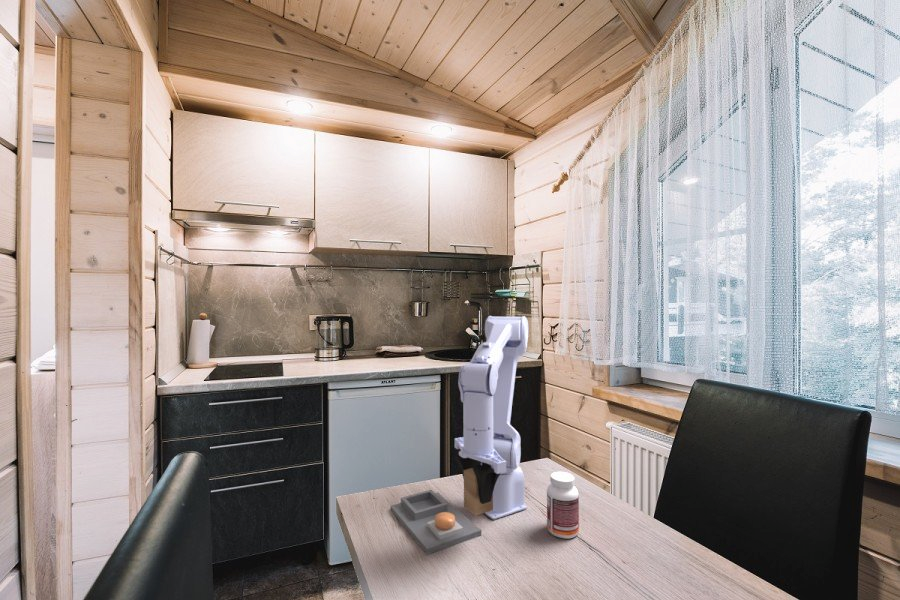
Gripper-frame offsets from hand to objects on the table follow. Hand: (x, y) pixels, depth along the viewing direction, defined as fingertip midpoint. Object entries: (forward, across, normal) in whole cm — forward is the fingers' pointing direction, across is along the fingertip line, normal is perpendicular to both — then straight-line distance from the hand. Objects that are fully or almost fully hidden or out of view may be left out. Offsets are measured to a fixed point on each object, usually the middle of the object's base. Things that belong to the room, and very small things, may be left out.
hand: (478, 496), depth 79 cm
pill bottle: (+9, +5, +17) cm, 20 cm away
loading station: (+9, -11, -4) cm, 15 cm away
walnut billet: (+2, 0, 0) cm, 2 cm away
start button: (+7, -6, -4) cm, 10 cm away
